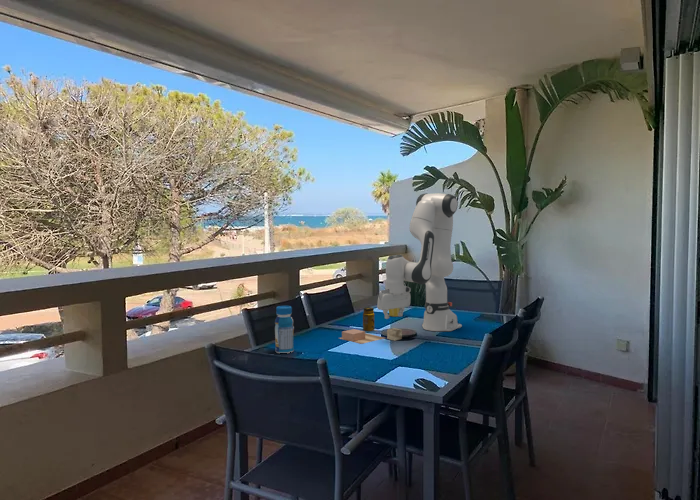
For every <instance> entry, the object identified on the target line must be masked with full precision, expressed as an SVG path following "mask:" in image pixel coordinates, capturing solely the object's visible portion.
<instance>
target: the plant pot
mask: <svg viewBox="0 0 700 500" xmlns="http://www.w3.org/2000/svg"><path fill="white" fill-rule="evenodd" d="M399 311H400V309H399V308H394V309H388V315H389V317H399V316H398V313H399Z"/></svg>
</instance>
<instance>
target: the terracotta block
mask: <svg viewBox="0 0 700 500" xmlns="http://www.w3.org/2000/svg"><path fill="white" fill-rule="evenodd" d="M365 333H366V331H364V330H359V329H355V328H353V329H348V330H343V331H341V338H342V339H341V340H343V339H345V340H344V341H347V340H349V341H348V342H351V341H358V340H362V339H365Z"/></svg>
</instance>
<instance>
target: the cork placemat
mask: <svg viewBox="0 0 700 500" xmlns="http://www.w3.org/2000/svg"><path fill="white" fill-rule="evenodd" d="M339 339H340V340H343V341H348V342H352V343H355V344H359V345H363V344H366V343H367V344H368V343H370V342H372V343H373V342H375V341H380V340H383V339H386V337H384V336H379V335H376V334H371V333H367V332H365V339H362V340H358V341H349V340H345V339H342V337H339Z"/></svg>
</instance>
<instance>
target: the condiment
mask: <svg viewBox="0 0 700 500" xmlns="http://www.w3.org/2000/svg"><path fill="white" fill-rule="evenodd" d="M374 311H375V310H374V308H373V307H371V306H370V307H364V308H363V313H362V329H363V330H362V331H365V332H373V331H375V332H378V330H376V329H375V313H374Z"/></svg>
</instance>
